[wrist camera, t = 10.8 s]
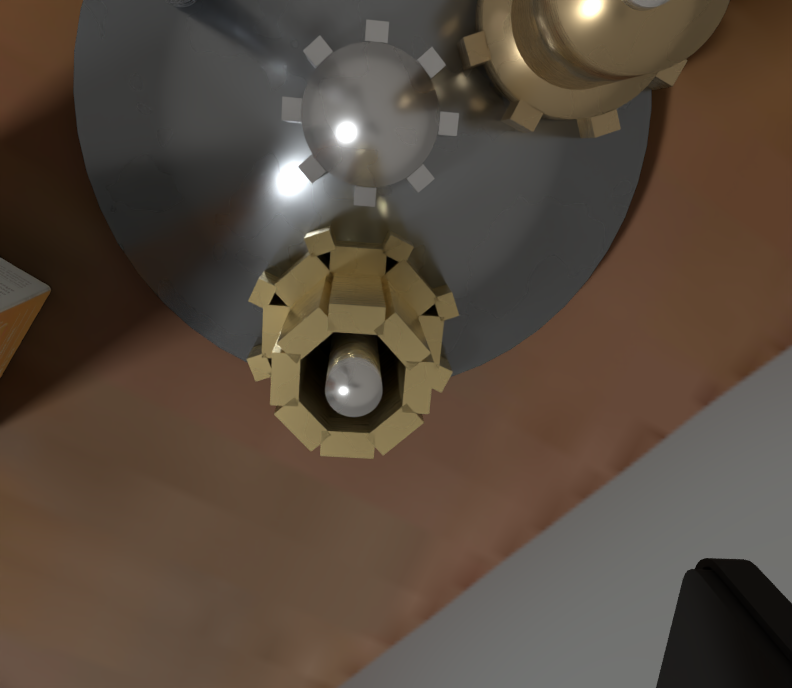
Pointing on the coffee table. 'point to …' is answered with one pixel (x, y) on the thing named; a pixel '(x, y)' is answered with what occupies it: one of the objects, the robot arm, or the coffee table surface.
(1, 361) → the small box
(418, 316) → the gear
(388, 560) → the coffee table surface
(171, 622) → the coffee table surface
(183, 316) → the carrier
